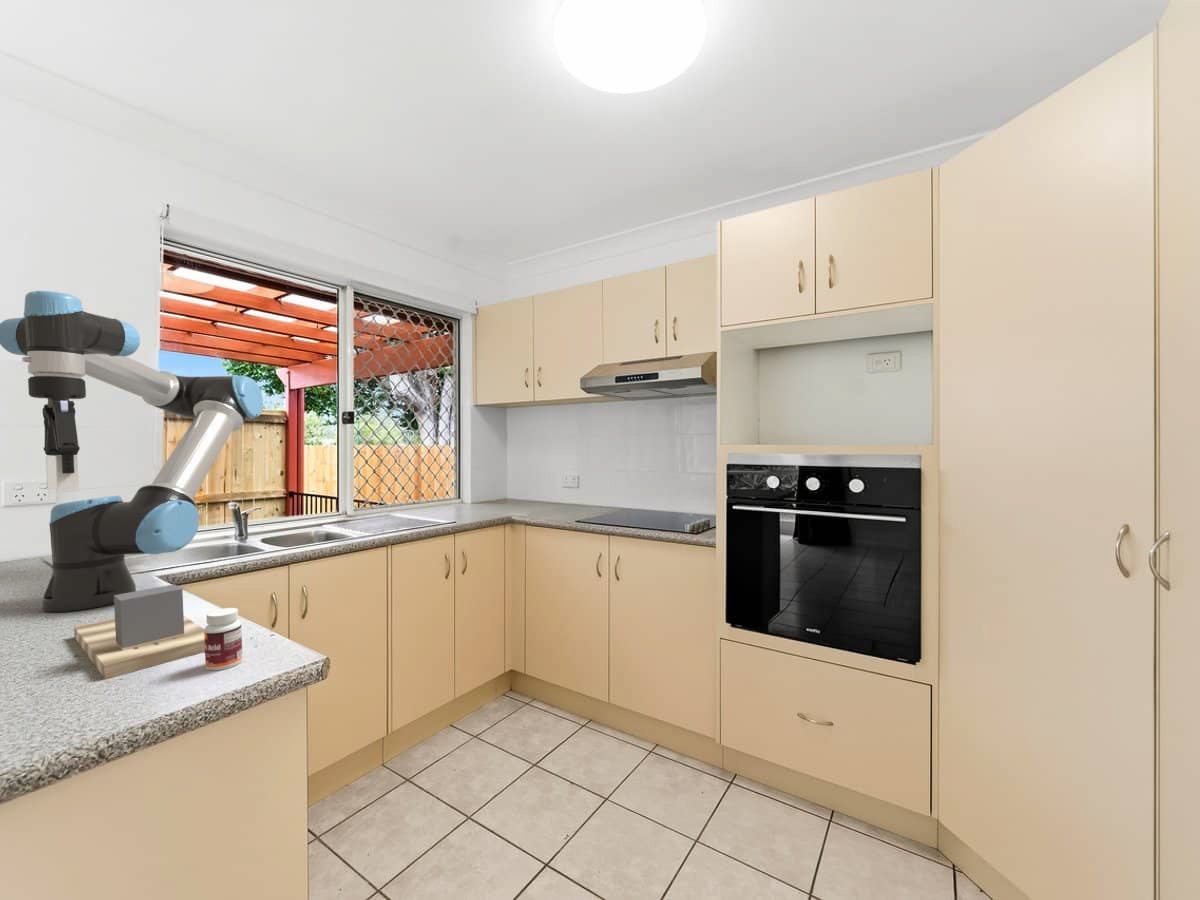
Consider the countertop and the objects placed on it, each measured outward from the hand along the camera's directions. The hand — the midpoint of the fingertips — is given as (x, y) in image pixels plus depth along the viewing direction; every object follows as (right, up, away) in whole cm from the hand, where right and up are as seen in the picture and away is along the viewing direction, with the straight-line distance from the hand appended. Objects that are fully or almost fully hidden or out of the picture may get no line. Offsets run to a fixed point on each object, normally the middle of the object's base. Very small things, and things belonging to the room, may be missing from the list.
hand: (62, 490), depth 100 cm
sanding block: (+25, -24, -10) cm, 37 cm away
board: (+21, -26, -6) cm, 34 cm away
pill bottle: (+42, -26, -16) cm, 52 cm away
